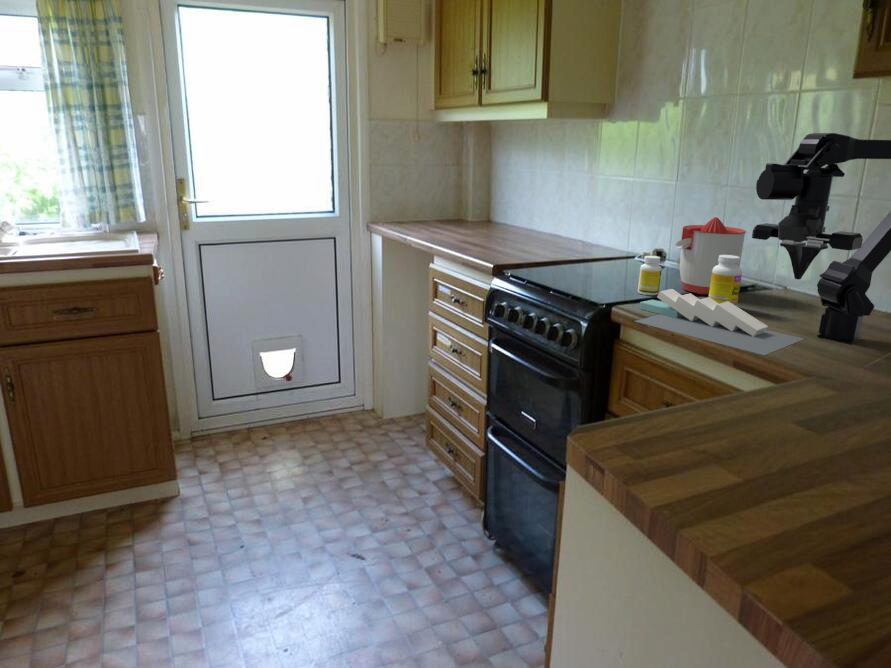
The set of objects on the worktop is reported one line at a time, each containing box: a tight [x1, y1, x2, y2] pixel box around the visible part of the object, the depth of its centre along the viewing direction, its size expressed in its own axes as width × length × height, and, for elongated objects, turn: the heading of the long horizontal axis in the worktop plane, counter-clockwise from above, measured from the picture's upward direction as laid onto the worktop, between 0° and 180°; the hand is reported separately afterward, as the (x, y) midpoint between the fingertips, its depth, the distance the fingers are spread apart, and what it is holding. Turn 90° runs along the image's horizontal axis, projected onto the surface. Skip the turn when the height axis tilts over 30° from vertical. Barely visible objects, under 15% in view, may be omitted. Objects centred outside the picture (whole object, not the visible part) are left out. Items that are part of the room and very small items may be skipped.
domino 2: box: [676, 292, 720, 327], centre depth 147 cm, size 2×5×10 cm
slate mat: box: [633, 314, 805, 356], centre depth 141 cm, size 29×18×1 cm, turn 40°
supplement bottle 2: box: [708, 255, 743, 307], centre depth 158 cm, size 7×7×13 cm
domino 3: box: [694, 296, 741, 331], centre depth 144 cm, size 2×5×10 cm
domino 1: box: [656, 288, 700, 321], centre depth 151 cm, size 2×5×10 cm
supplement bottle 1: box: [637, 255, 663, 296], centre depth 173 cm, size 5×5×10 cm
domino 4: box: [713, 301, 769, 337], centre depth 140 cm, size 2×5×10 cm
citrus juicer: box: [675, 216, 747, 296], centre depth 176 cm, size 16×17×20 cm
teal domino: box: [639, 299, 683, 318], centre depth 154 cm, size 2×5×10 cm
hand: (797, 279), depth 132 cm, fingers closed
